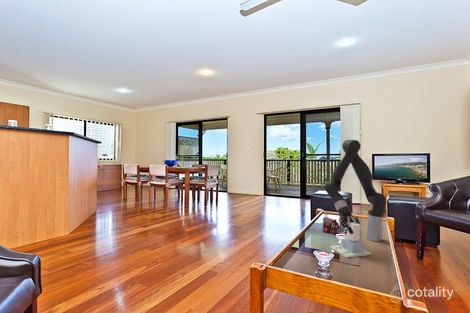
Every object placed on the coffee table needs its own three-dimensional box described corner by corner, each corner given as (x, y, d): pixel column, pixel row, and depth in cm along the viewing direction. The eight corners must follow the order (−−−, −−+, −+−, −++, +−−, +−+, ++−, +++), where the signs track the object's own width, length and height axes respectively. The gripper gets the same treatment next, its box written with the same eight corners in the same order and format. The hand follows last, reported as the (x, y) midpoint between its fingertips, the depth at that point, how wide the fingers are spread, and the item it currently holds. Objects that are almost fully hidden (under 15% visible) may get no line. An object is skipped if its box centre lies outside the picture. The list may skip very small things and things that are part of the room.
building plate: (352, 245, 163) (352, 236, 162) (370, 254, 149) (371, 244, 149) (329, 247, 157) (330, 238, 156) (346, 257, 144) (347, 247, 143)
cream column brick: (353, 237, 157) (354, 222, 156) (359, 240, 152) (360, 224, 151) (346, 237, 155) (347, 222, 154) (352, 240, 150) (354, 225, 150)
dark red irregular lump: (338, 235, 180) (339, 221, 179) (320, 231, 187) (321, 217, 187) (340, 233, 185) (341, 219, 185) (323, 229, 193) (324, 216, 192)
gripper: (337, 206, 157) (350, 231, 146) (355, 205, 162) (368, 229, 151) (330, 212, 162) (342, 236, 152) (348, 211, 167) (361, 235, 156)
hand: (355, 233), depth 151 cm, fingers closed on cream column brick, 5 cm apart
